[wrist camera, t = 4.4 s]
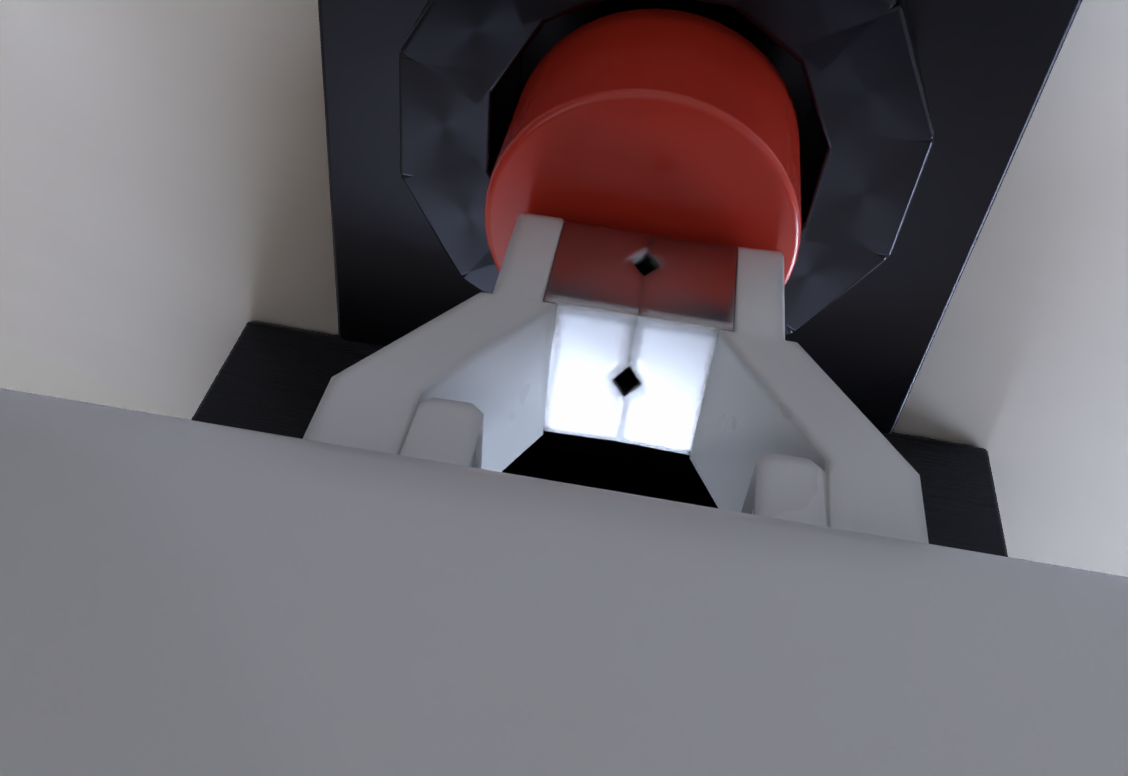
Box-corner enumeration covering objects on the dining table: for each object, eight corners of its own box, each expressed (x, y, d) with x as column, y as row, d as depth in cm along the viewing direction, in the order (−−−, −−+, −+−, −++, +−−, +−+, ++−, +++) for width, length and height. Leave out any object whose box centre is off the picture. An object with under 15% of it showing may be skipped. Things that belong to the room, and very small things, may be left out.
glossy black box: (209, 311, 22) (56, 555, 17) (989, 446, 21) (1045, 737, 17) (272, 688, 32) (186, 907, 27) (805, 788, 31) (809, 1029, 26)
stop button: (526, -18, 13) (490, 66, 11) (833, 30, 12) (840, 122, 11) (508, 234, 15) (476, 332, 13) (763, 278, 15) (761, 381, 13)
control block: (334, -540, 12) (197, -521, 10) (1208, -420, 12) (1343, -361, 9) (366, 280, 21) (297, 425, 18) (885, 369, 20) (902, 533, 17)
